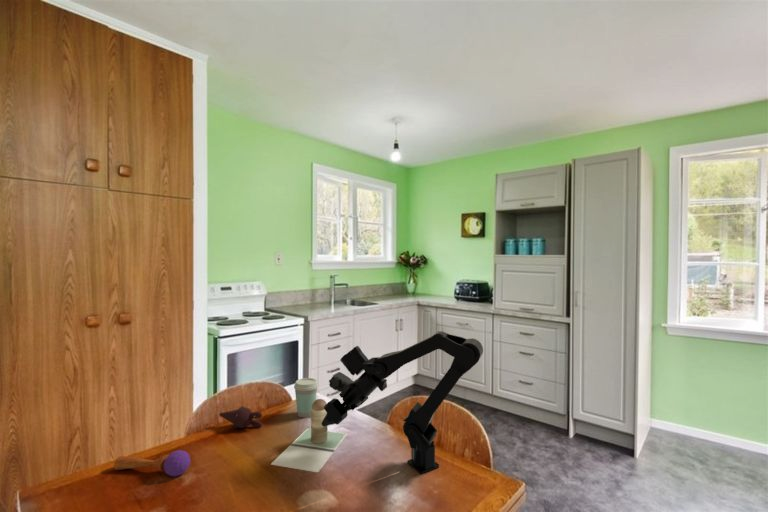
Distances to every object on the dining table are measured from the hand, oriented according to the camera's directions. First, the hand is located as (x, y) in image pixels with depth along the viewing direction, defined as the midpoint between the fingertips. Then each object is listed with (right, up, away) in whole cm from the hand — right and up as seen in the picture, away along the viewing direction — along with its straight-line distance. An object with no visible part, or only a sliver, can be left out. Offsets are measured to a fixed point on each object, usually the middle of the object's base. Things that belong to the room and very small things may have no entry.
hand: (330, 418), depth 112 cm
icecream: (-32, -8, +11) cm, 34 cm away
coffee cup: (-12, -8, +21) cm, 25 cm away
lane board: (-5, -8, -3) cm, 10 cm away
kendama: (-45, -8, -15) cm, 48 cm away
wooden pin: (-4, -7, +1) cm, 8 cm away
